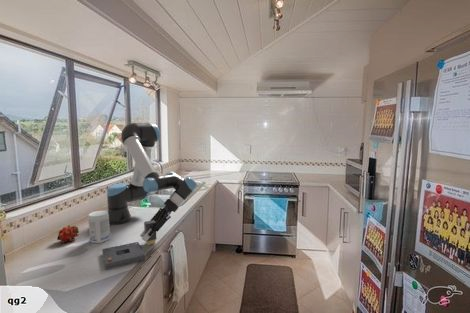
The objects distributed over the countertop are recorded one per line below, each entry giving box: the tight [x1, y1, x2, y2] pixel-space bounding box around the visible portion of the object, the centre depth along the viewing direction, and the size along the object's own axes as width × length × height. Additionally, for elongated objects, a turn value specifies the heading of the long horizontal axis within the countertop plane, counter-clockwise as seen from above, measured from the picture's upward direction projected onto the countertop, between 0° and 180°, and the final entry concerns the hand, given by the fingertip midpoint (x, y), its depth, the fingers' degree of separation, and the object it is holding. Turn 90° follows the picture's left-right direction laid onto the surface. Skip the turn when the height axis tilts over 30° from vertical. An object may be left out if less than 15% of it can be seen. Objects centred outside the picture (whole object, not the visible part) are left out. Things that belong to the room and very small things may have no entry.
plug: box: [143, 220, 157, 246], centre depth 135 cm, size 4×5×11 cm
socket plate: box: [101, 241, 146, 270], centre depth 121 cm, size 16×16×3 cm
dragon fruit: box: [56, 225, 80, 244], centre depth 138 cm, size 8×8×12 cm
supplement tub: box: [87, 210, 111, 244], centre depth 139 cm, size 10×10×15 cm
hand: (142, 238), depth 133 cm, fingers closed on plug, 4 cm apart
